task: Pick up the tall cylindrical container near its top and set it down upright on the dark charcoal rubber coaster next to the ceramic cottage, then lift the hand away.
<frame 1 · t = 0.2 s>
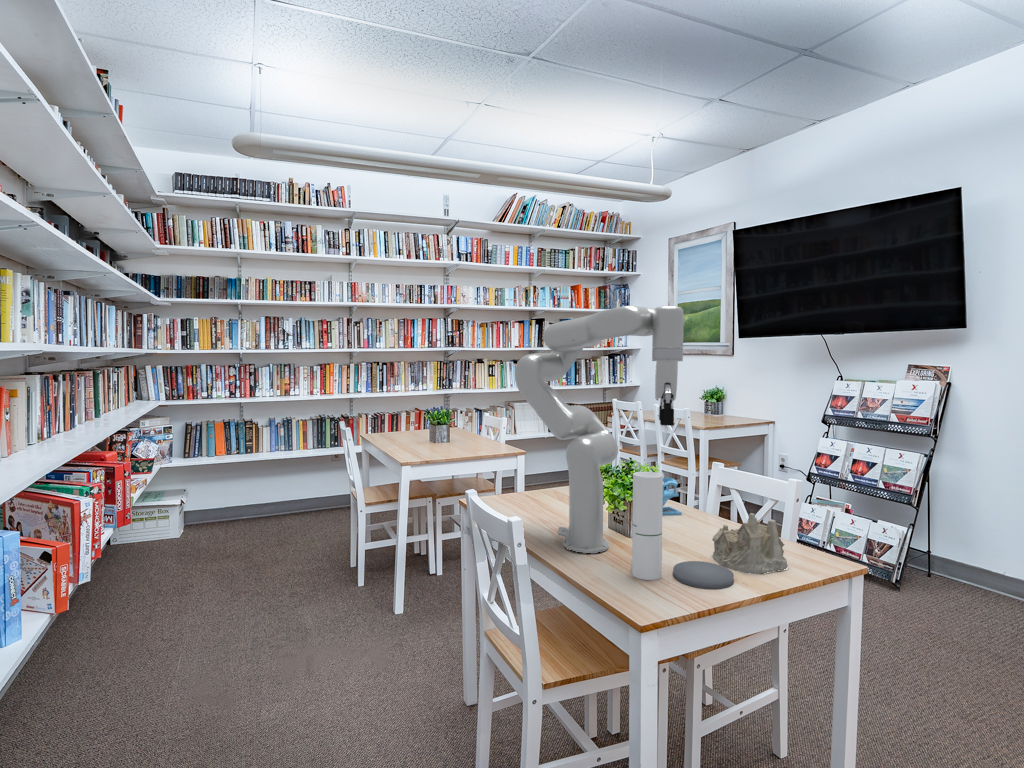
hand: (666, 422, 147), 37 cm above the table, tool pointing down, fingers open, 9 cm apart
cylindrical container: (646, 575, 143), on the table
ceramic cottage: (749, 563, 152), on the table
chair: (665, 513, 199), on the table
coaster: (702, 577, 142), on the table
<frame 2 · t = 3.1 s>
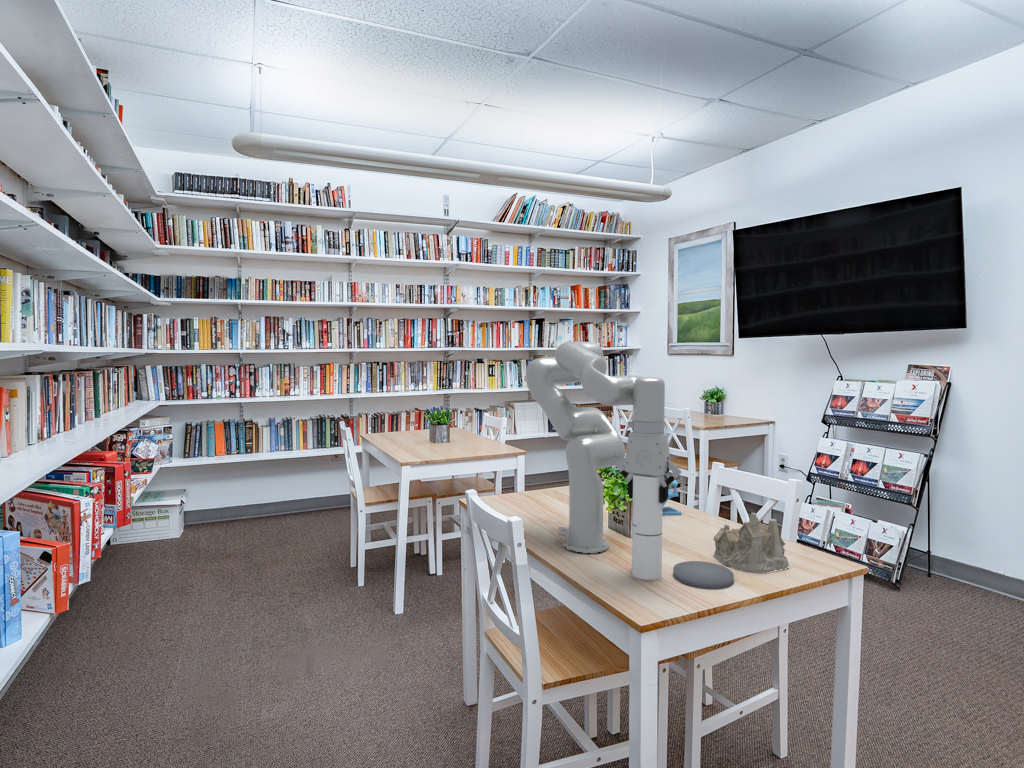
hand: (647, 499, 142), 19 cm above the table, tool pointing down, fingers closed on cylindrical container, 7 cm apart
cylindrical container: (646, 575, 143), on the table, touching gripper
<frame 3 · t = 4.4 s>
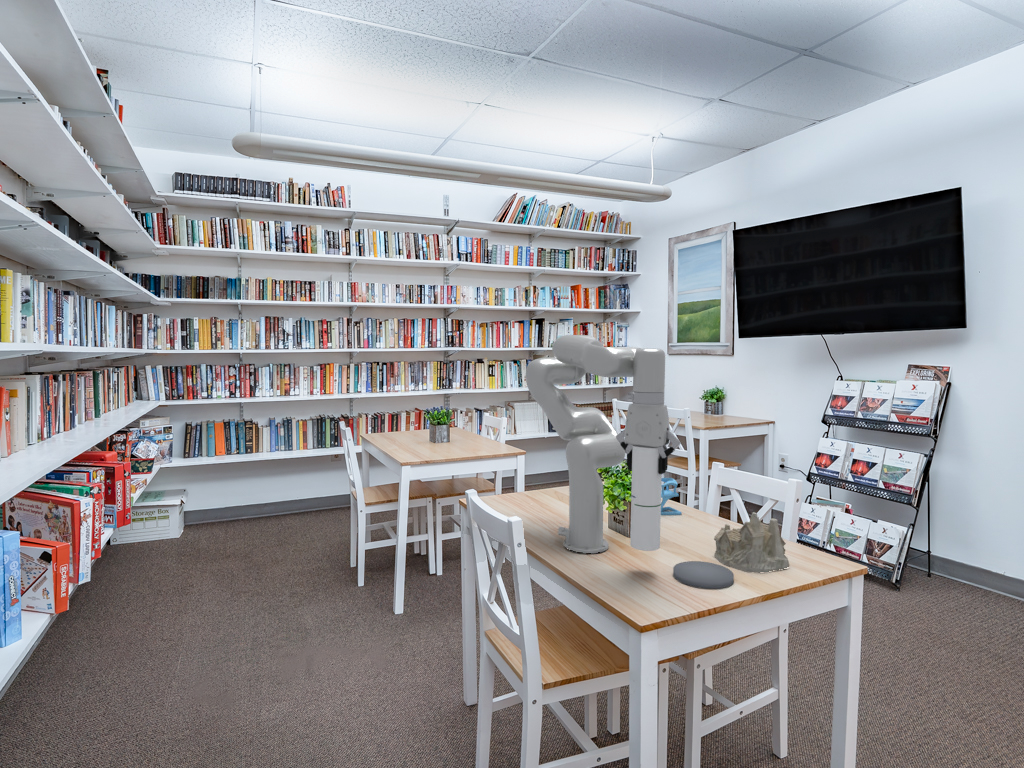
hand: (646, 470, 142), 26 cm above the table, tool pointing down, fingers closed on cylindrical container, 7 cm apart
cylindrical container: (644, 546, 144), point 7 cm above the table, touching gripper
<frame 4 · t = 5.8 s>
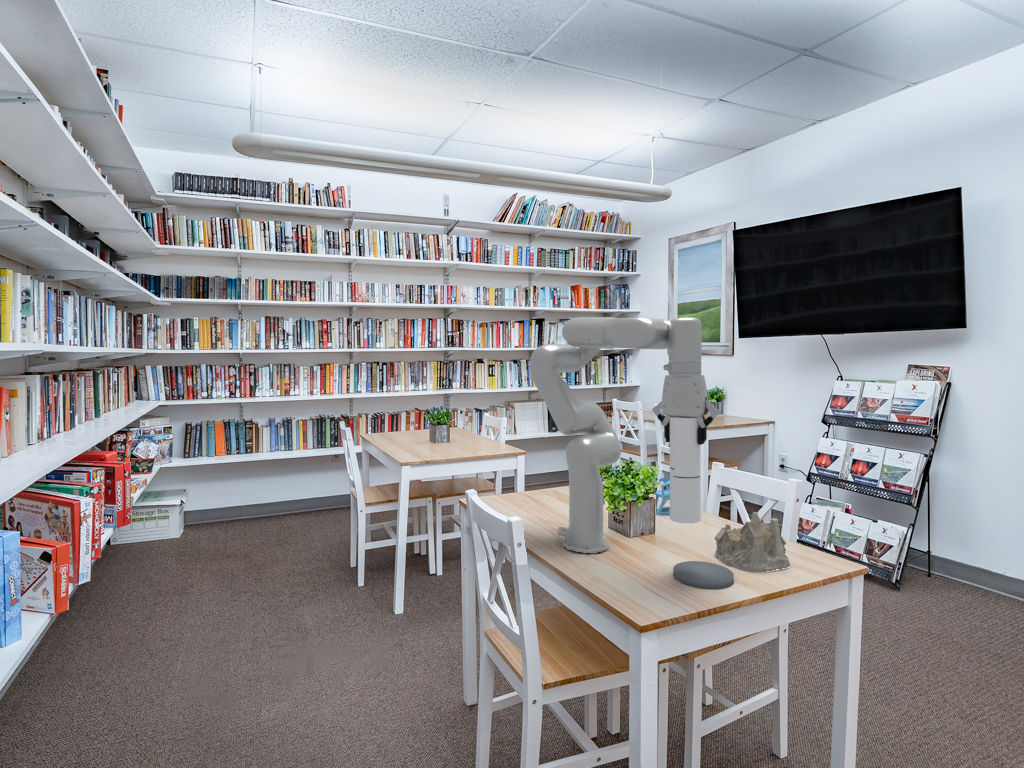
hand: (685, 442, 140), 33 cm above the table, tool pointing down, fingers closed on cylindrical container, 7 cm apart
cylindrical container: (685, 520, 141), point 14 cm above the table, touching gripper
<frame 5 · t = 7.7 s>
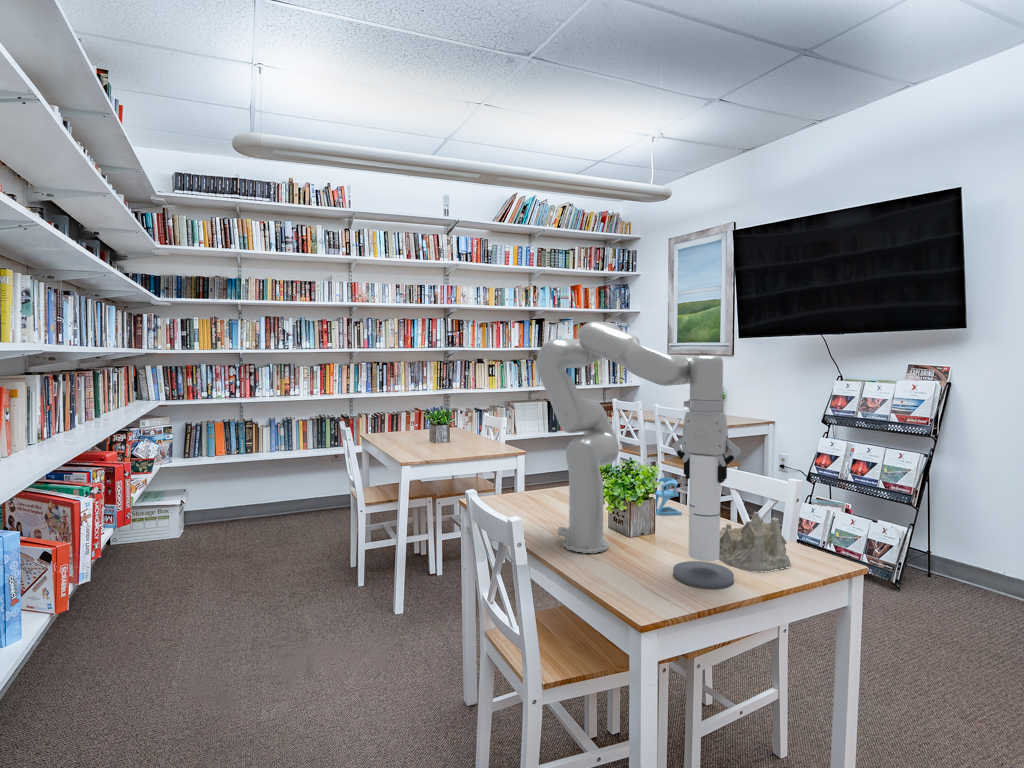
hand: (704, 479, 140), 24 cm above the table, tool pointing down, fingers closed on cylindrical container, 7 cm apart
cylindrical container: (703, 556, 141), point 5 cm above the table, touching gripper
when the fingers open (21 cm above the table, at t = 9.0 s): cylindrical container stays where it is, resting on coaster.
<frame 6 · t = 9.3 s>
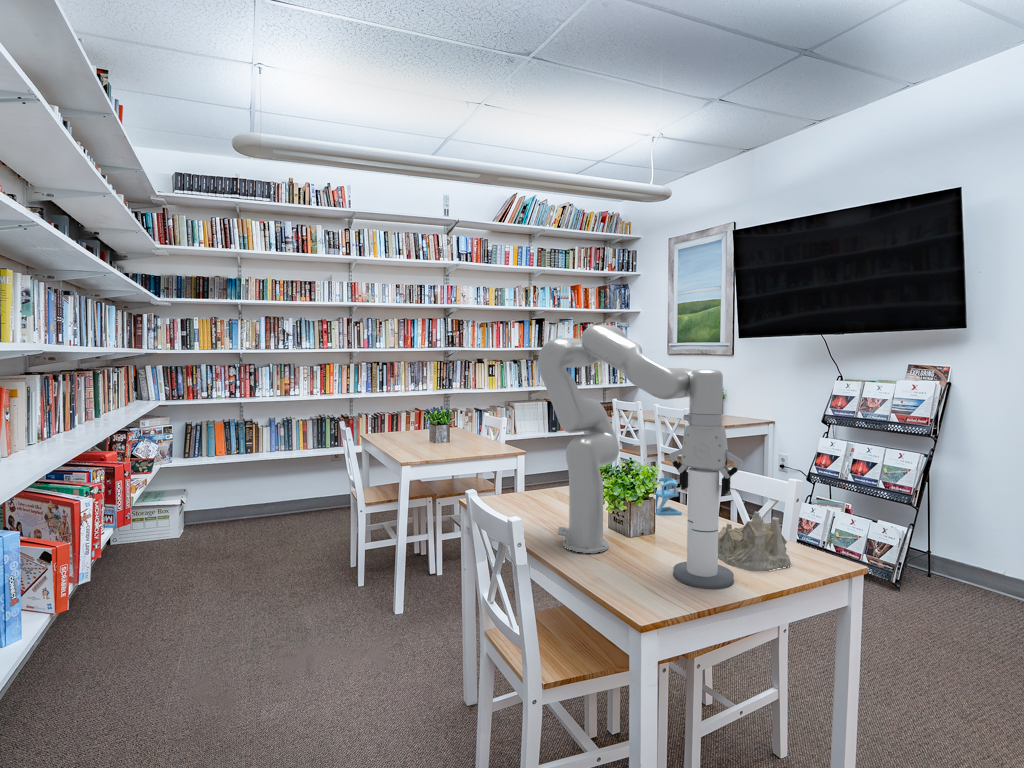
hand: (704, 491, 140), 21 cm above the table, tool pointing down, fingers open, 9 cm apart
cylindrical container: (702, 572, 142), point 1 cm above the table, touching coaster
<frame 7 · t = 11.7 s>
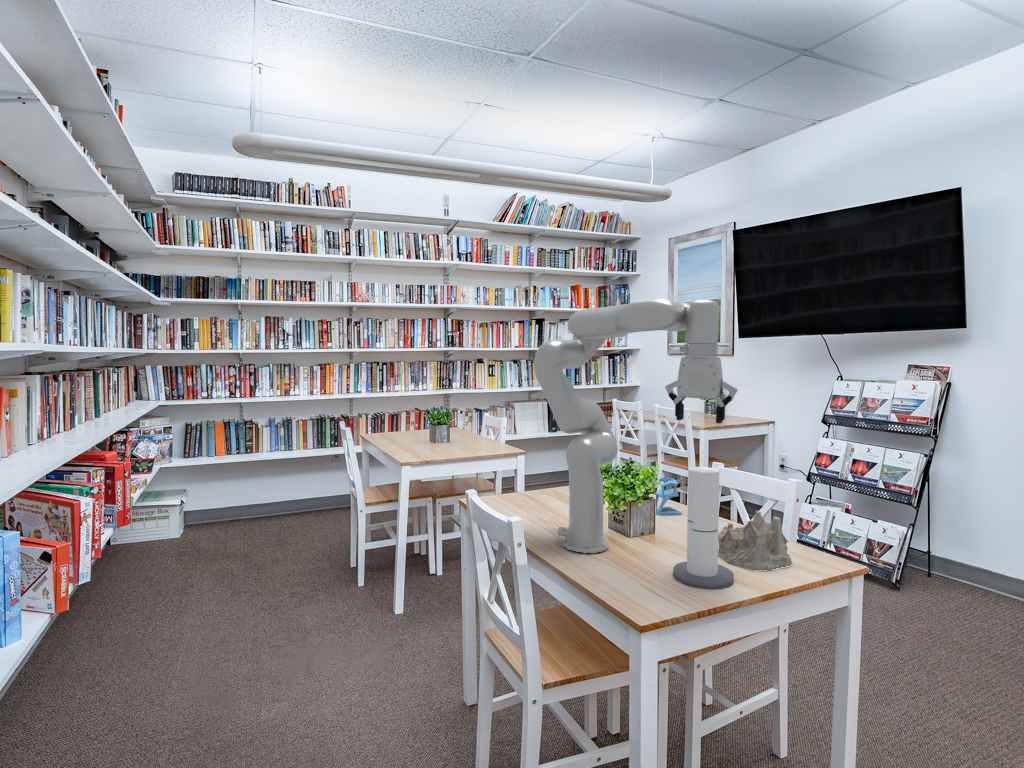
hand: (699, 421, 142), 38 cm above the table, tool pointing down, fingers open, 9 cm apart
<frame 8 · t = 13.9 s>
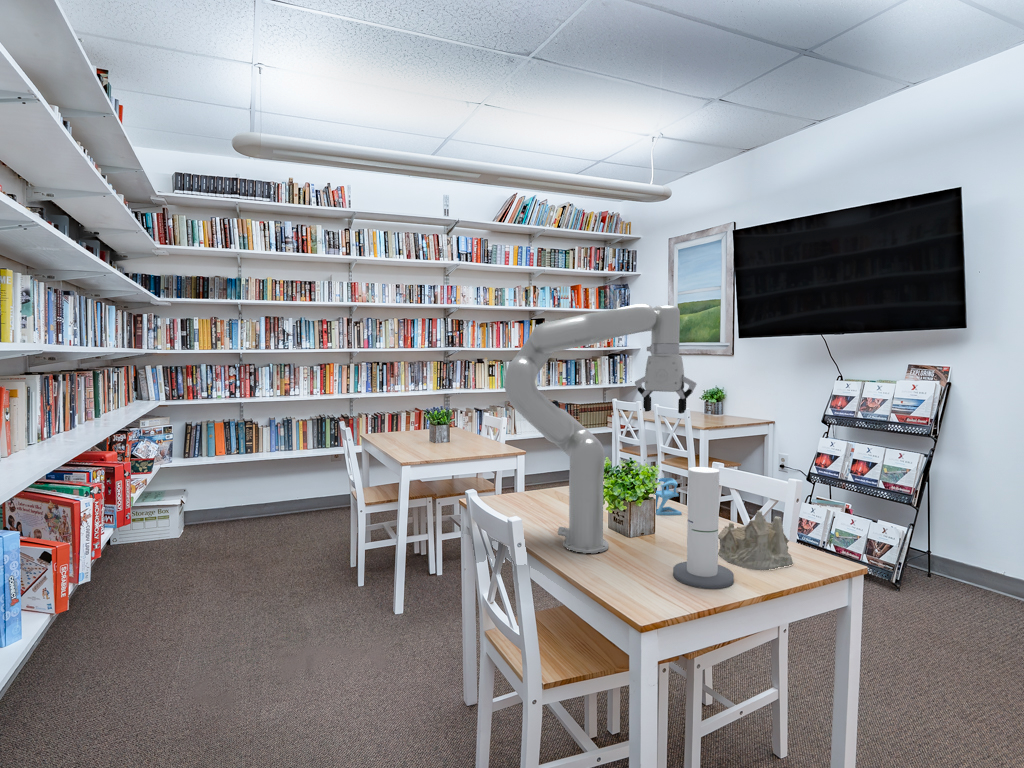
hand: (664, 412, 162), 38 cm above the table, tool pointing down, fingers open, 9 cm apart
at the end: cylindrical container inside the target area on the coaster (0.2 cm from its centre), point 1.3 cm above the coaster's base; cylindrical container tilted 0°; the gripper is holding nothing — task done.
